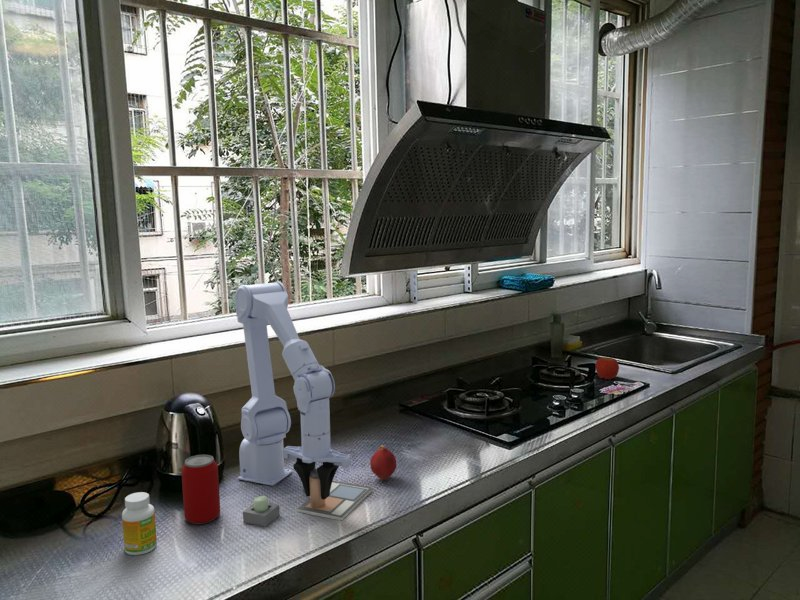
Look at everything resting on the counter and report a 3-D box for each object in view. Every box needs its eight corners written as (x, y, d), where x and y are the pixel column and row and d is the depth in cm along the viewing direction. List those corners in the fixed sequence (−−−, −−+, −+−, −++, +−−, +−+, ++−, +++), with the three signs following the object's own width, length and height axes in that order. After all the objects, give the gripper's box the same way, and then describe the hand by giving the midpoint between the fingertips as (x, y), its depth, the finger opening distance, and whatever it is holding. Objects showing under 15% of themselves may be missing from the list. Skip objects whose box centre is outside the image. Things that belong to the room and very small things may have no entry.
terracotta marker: (307, 506, 126) (306, 473, 125) (315, 499, 129) (313, 467, 128) (320, 508, 125) (319, 475, 124) (327, 502, 128) (326, 469, 127)
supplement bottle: (143, 558, 110) (139, 505, 109) (117, 553, 111) (113, 501, 110) (163, 542, 115) (159, 491, 114) (138, 538, 116) (134, 488, 115)
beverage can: (224, 509, 127) (221, 452, 126) (215, 526, 121) (212, 466, 119) (190, 510, 127) (186, 453, 125) (180, 527, 120) (176, 467, 119)
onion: (382, 472, 145) (381, 438, 143) (402, 478, 141) (401, 444, 140) (365, 480, 140) (364, 446, 139) (385, 487, 136) (384, 452, 135)
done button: (251, 516, 123) (250, 501, 122) (259, 510, 125) (258, 495, 125) (263, 519, 121) (262, 503, 121) (271, 512, 124) (270, 497, 124)
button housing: (243, 522, 122) (242, 511, 122) (258, 510, 127) (258, 500, 126) (265, 526, 120) (264, 516, 120) (279, 515, 125) (279, 504, 124)
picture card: (297, 511, 126) (297, 508, 126) (331, 483, 139) (331, 480, 139) (341, 520, 122) (341, 517, 122) (372, 490, 135) (372, 487, 135)
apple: (607, 382, 215) (607, 360, 214) (590, 377, 222) (590, 355, 221) (623, 379, 219) (624, 357, 218) (605, 374, 226) (606, 353, 225)
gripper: (273, 433, 124) (276, 498, 126) (338, 442, 119) (340, 510, 121) (292, 421, 131) (295, 484, 133) (355, 430, 125) (356, 495, 127)
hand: (317, 495), depth 127 cm, fingers closed on terracotta marker, 3 cm apart
